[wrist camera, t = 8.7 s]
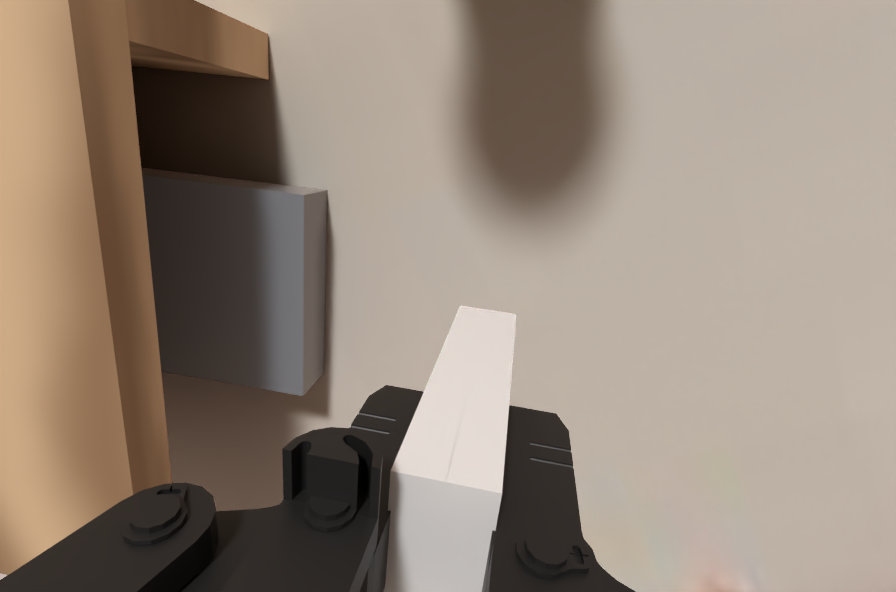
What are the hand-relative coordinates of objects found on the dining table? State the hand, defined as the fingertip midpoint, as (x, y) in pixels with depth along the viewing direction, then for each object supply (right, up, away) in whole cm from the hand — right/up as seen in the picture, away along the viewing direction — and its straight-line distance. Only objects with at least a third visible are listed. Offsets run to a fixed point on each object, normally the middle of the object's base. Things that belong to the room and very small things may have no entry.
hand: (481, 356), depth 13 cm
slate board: (-11, +3, +8) cm, 14 cm away
